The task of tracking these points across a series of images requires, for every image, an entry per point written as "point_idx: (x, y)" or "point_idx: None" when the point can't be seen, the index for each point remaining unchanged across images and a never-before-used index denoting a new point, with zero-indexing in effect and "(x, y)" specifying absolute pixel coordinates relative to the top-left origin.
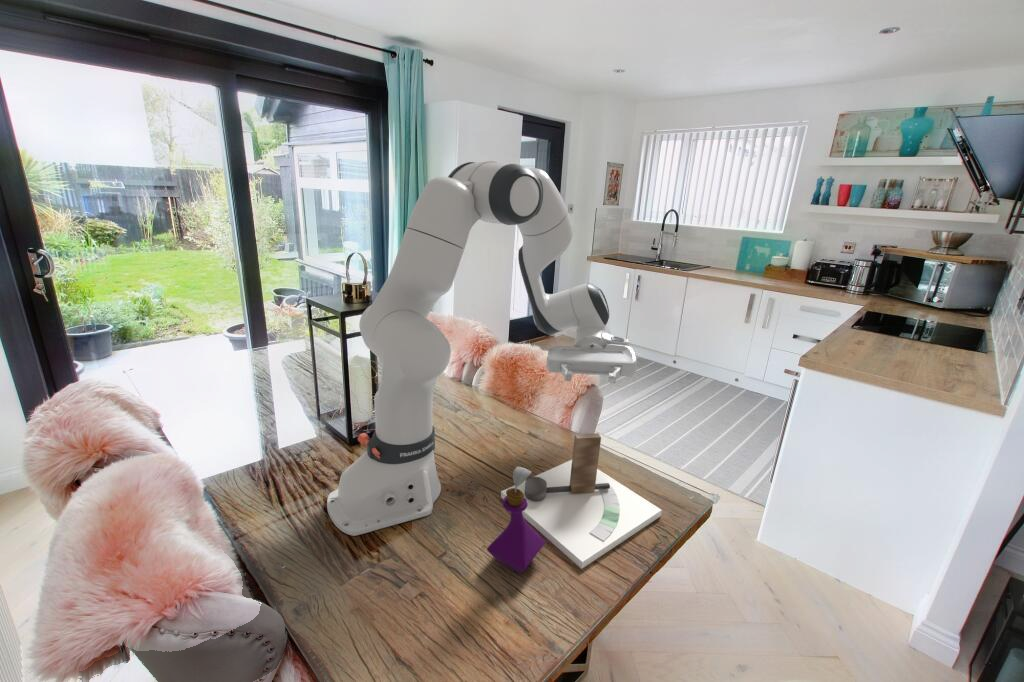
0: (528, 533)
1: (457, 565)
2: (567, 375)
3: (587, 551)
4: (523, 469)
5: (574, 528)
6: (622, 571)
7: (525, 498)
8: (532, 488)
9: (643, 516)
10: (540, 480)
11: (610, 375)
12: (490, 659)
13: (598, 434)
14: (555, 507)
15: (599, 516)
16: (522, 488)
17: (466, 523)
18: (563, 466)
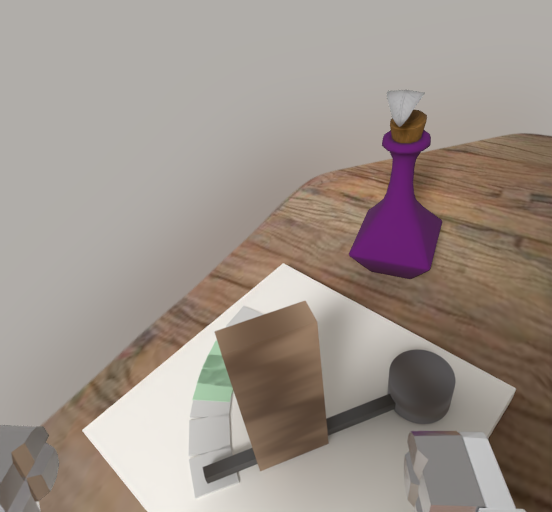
0: (377, 209)
1: (480, 234)
2: (450, 433)
3: (274, 282)
4: (405, 91)
5: None
6: (218, 286)
7: (390, 144)
8: (422, 352)
9: (140, 394)
10: (413, 391)
11: (9, 441)
12: (374, 170)
13: (222, 346)
14: (353, 368)
15: None
16: (464, 415)
17: (531, 305)
18: None
